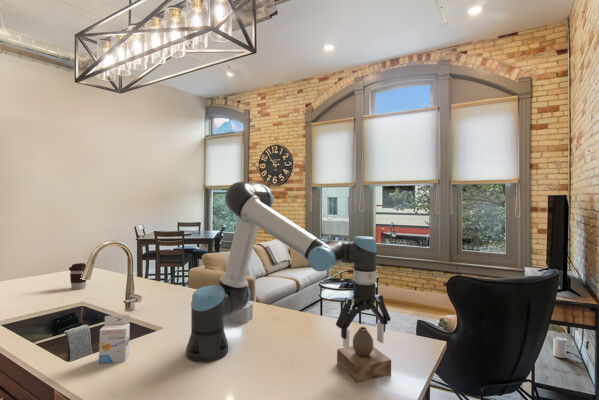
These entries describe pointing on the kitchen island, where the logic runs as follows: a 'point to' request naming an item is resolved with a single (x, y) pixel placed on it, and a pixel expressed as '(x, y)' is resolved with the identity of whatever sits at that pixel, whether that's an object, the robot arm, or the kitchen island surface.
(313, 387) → the kitchen island surface
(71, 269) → the coffee cup
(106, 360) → the ink box
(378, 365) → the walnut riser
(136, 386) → the kitchen island surface
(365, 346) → the vase
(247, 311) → the grey angular block
